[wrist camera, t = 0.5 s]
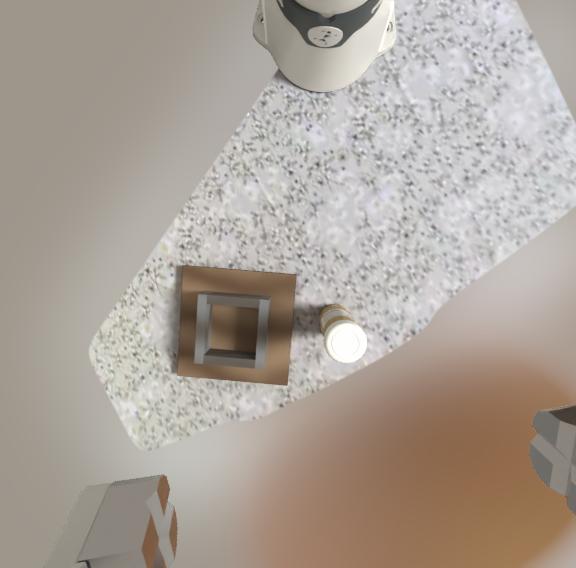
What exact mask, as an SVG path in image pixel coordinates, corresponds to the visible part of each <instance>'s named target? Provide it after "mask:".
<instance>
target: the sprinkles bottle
mask: <svg viewBox="0 0 576 568" xmlns="http://www.w3.org/2000/svg"><path fill="white" fill-rule="evenodd" d="M319 324H320V326H321V331H322V334H323V336H324V345H325V348H326V351H327V353H328V354H329V356H330V357H331V358H332V359H334V360H335V361H338V362H341V363H351V362H354V361H356V360H358V359H359V358H360V357H361V356H362V355H363V353H364V352H365V349H366V345H367V341H366V336H365V334H364V332H363V330H362V329H361V328H360V326H359V325H357V324H356V323H355V321H354V320H353V319H352V317H351V316H350V314H349V313H348V311H347V310H346V309H345V308H344V307H342V306H340V305H330V306H327V307H326V308H324V309H323V310H322V312H321V314H320V316H319Z"/></svg>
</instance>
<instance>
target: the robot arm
mask: <svg viewBox="0 0 576 568" xmlns="http://www.w3.org/2000/svg"><path fill="white" fill-rule="evenodd" d="M263 20H264V24H263V23H261V22H262V21H263ZM387 29H388V31H387ZM253 35H254V38H255V39H256V41H257V42H258V43H259V44H261V45H262V46H263V47H264V48H266V49H267V50H268V51H269V52H270V53H271V55H272V56H273V58H274V60H275V62H276V64H277V66H278V68H279V69H280V70H281V72H282V73H283V74H284V75H285V76H286V77H287V78H288V79H289V80H290V81H291V82H293V83H294V84H296V85H297V86H299V87H301V88H304V89H306V90H310V91H315V92H330V91H335V90H339V89H342V88H344V87H346V86H348V85H350V84H351V83H353V82H354V81H356V80H357V79H358V78H359V77H360V76H361V75H362V74H363V73H364V72H365V71H366V69H367V68H368V67H369V65H370V64H371V63H372V62H373V60H374V59H376V58H377V57H379V56H381V55H382V54H384V53H386V52H387V51H389V50H390V49H391V48H392V47H393V45H394V43H395V39H396V28H395V16H394V2H393V0H260V1H259V5H258V9H257V13H256V17H255V21H254V25H253ZM533 428H534V429H535V430H536V432H537V433H538V434H537V435H536V436H535V437H534V439H533V440H532V441H531V443H530V454H529V456H530V459H531V462H532V465H533V468H534V469H535V471H536V473H537V474H538V476H539V477H540V479H541V480H542V481H543V482H544V483H545V484H546V485H547V486H548V487H549V488H550V489H552V490H554V491H556V492H558V493H560V494H562V495H564V496H565V498H566V502H567V507H568V508H569V509H570V510H572V511H573V513H574V514H575V515H576V404H574V405H568V406H563V407H557V408H552V409H546V410H540V411H538V412H537V413H536V415H535V416H534V419H533ZM169 491H170V488H169V484H168V480H167V477H166V476H165V475H157V476H150V477H144V478H136V479H129V480H122V481H115V482H113V483H106V484H99V485H91V486H87V487H86V488H85V489H84V490H83V491H82V492H81V494H80V495H79V497H78V500H77V502H76V503H75V505H74V507H73V509H72V511H71V513H70V515H69V517H68V519H67V521H66V524H65V526H64V527H63V529H62V531H61V533H60V535H59V537H58V539H57V541H56V543H55V545H54V547H53V549H52V551H51V553H50V555H49V558H48V559H47V562H46V564H45V565H44V567H43V568H169V567H170V565H171V564H172V563H173V561H174V560H175V555H176V548H177V518H176V512H175V508H174V506H173V505H172V504H171V503H169V502H168V496H169Z"/></svg>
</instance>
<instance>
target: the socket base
mask: <svg viewBox="0 0 576 568" xmlns="http://www.w3.org/2000/svg"><path fill="white" fill-rule="evenodd" d="M296 275H297V274H285V273H272V272H260V271H248V270H236V269H224V268H211V267H199V266H187V265H185V266H183V276H182V296H181V316H180V336H179V356H178V376H186V377H197V378H209V379H220V380H231V381H242V382H253V383H264V384H275V385H286V386H287V384H288V372H289V360H290V348H291V336H292V323H293V311H294V299H295V287H296Z"/></svg>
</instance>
